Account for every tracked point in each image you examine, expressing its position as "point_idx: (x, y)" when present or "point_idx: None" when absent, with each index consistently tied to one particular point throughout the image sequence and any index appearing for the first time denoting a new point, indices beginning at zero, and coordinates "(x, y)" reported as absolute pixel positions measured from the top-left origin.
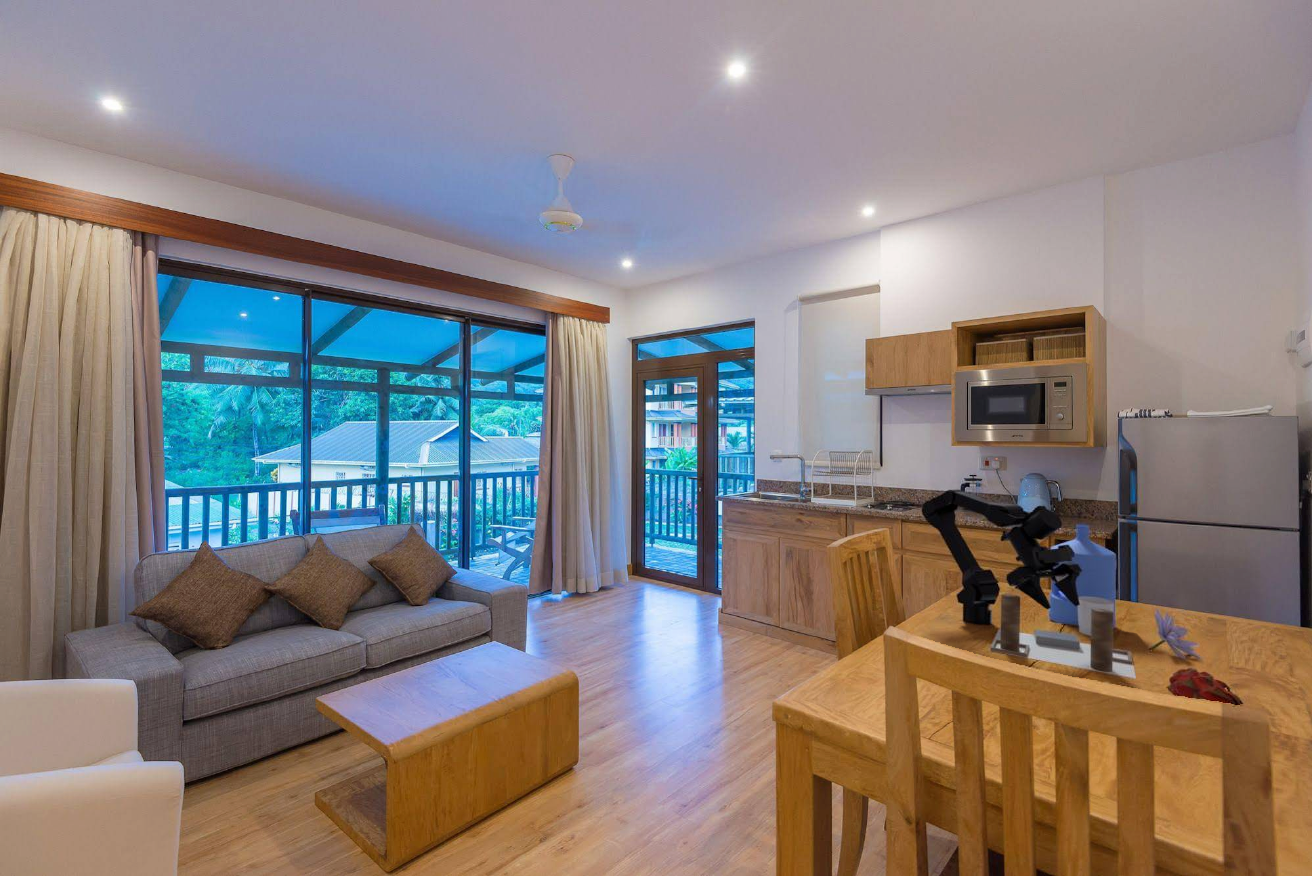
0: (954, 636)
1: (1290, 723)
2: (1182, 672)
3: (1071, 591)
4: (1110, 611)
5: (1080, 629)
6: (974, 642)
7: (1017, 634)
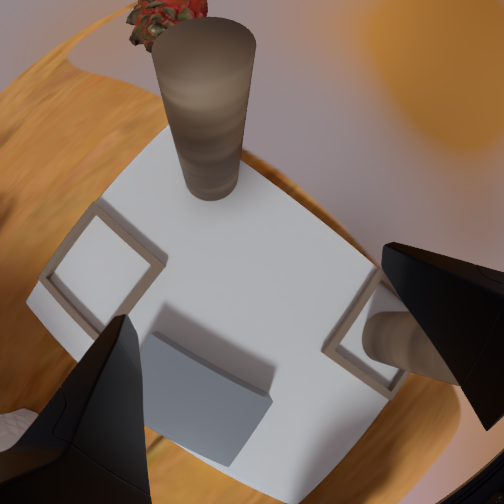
0: (423, 450)
1: (89, 30)
2: (175, 7)
3: (106, 400)
4: (165, 37)
5: None
6: (407, 417)
7: (407, 313)
